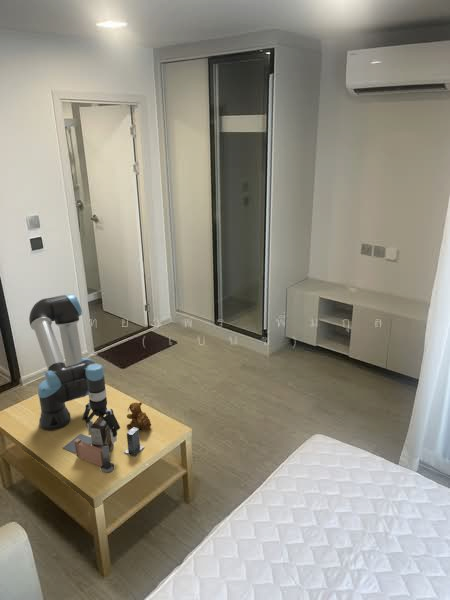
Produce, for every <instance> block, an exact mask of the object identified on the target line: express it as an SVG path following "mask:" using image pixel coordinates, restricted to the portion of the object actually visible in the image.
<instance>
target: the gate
mask: <svg viewBox="0 0 450 600" xmlns="http://www.w3.org/2000/svg"><path fill="white" fill-rule="evenodd" d="M74 442H75V449H76V454H75V456H76V457H78V458H81V459H83V460H86V461H88V462H90V463H93V464H95V465H98V466H100V467H101V466H103V465H104V463H103V455H102V449H100V448H97V447H95V446H92V444H91V445H89V444H87V443H84V442H81V439H78V438H77V439H76V440H75V441H74Z"/></svg>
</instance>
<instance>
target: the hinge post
mask: <svg viewBox="0 0 450 600" xmlns="http://www.w3.org/2000/svg"><path fill="white" fill-rule="evenodd" d="M110 453H111V452H110ZM110 453H109V445H108V444H103V445H102V455H103V463H104V465H103V466H100V472H101V473H103V474H109V473H111V472H113V471H114V470H115V468H116V467H115V464H114V463H112V462H111V454H110Z"/></svg>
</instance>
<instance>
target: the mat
mask: <svg viewBox="0 0 450 600" xmlns="http://www.w3.org/2000/svg"><path fill="white" fill-rule="evenodd" d="M77 438H78V439H81V442H84V443H87V444H89V445H92V440H91V436H90V435H86V434H83V433H79V434H78V435H77V436H75V437H74V438H73V439H72V440H70V441H69V442H68V443H66V444H65V445H63V447H62V449H63V450H66V451H68V452H71V453H73V454H74V455H76V449H75V442H74V441H75V440H76V439H77Z"/></svg>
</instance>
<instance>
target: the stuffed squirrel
mask: <svg viewBox="0 0 450 600" xmlns="http://www.w3.org/2000/svg"><path fill="white" fill-rule="evenodd" d="M142 405H143V402H142V401H141V402H131V403H130V404H129V407H128V409H127V412H130V413H127V414H126V418H127V419H129V420H131V421H130V422H129V423H128V424H126V428H127V429H129V430H131V429H132V428H133V427H135V428H138V429H140V430H141V431H147V430H149V429H151V427H152V424H151V420H150V418H149V417H148V415H147V413H146V412H145V411H144V412H143V411H142V408H141V406H142Z"/></svg>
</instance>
